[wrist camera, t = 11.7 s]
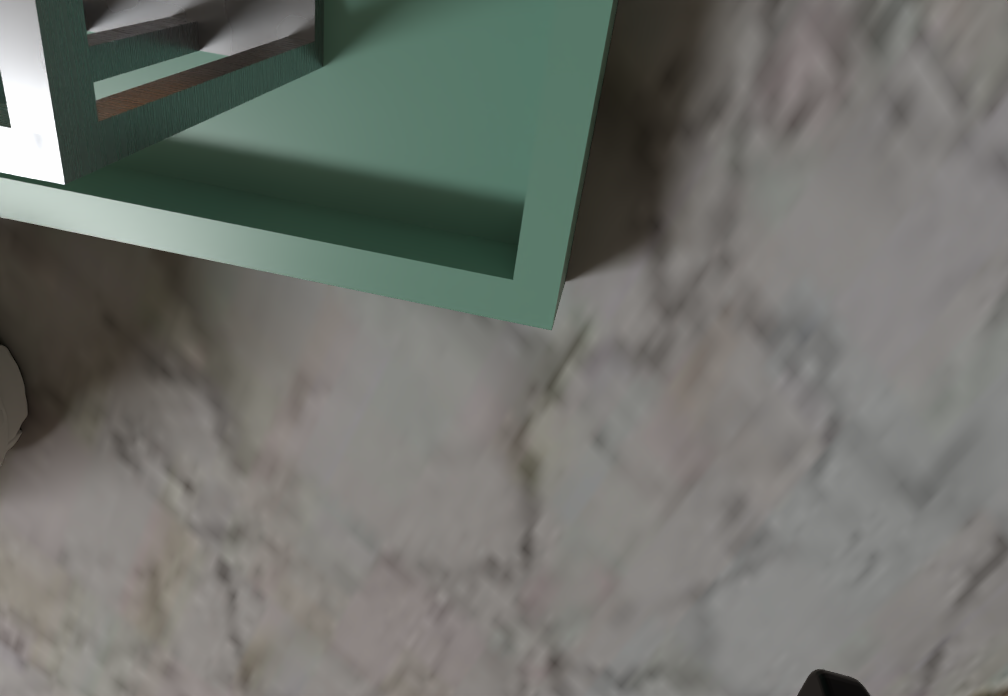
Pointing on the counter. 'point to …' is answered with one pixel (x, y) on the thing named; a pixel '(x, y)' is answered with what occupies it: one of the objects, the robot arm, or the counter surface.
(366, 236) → the tray
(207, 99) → the cage
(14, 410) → the mug
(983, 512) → the counter surface
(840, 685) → the robot arm
